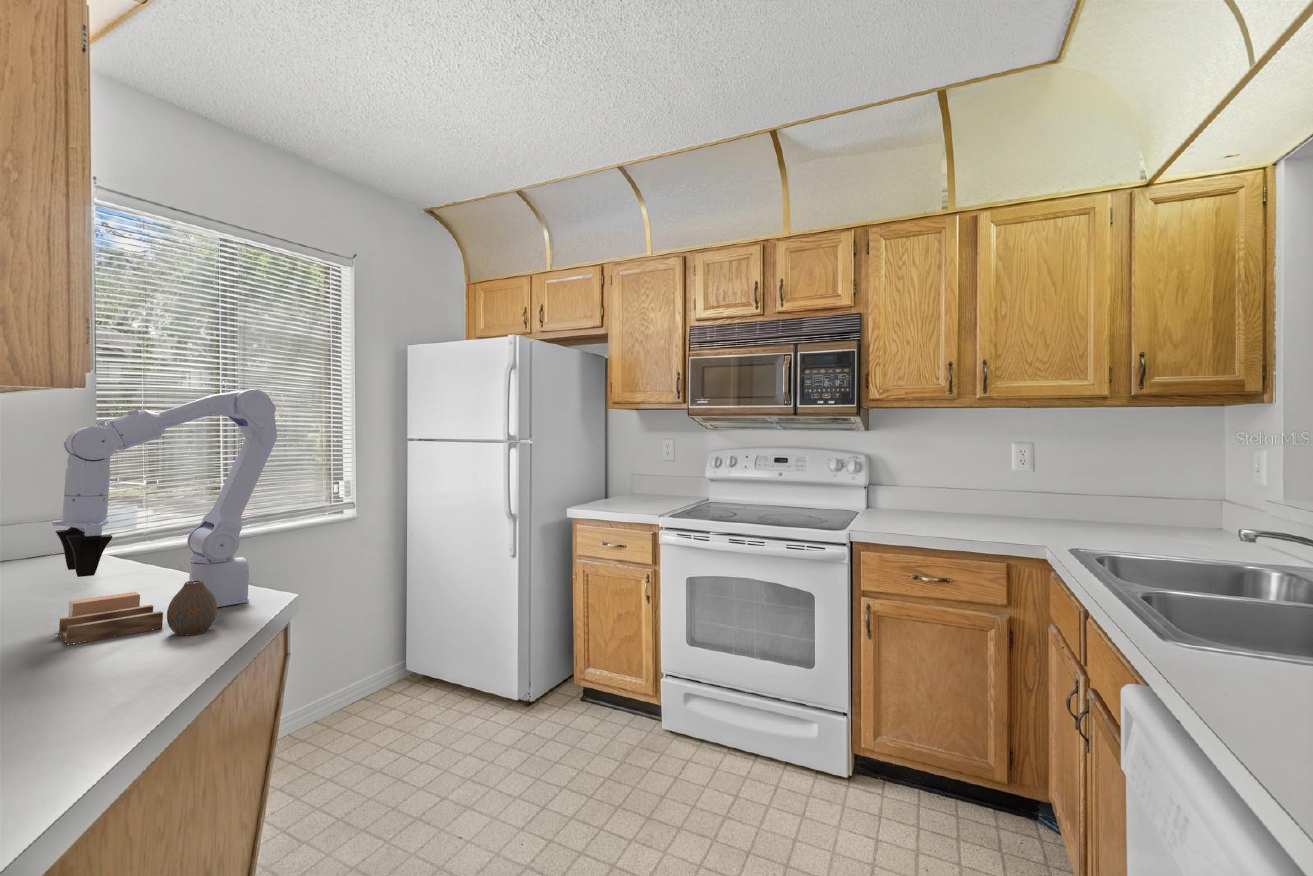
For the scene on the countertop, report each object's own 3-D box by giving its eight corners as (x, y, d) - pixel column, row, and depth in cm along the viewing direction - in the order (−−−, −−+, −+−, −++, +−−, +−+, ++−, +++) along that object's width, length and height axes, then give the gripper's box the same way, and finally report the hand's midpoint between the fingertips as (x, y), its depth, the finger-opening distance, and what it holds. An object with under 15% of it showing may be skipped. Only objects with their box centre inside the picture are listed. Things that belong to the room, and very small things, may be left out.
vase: (220, 632, 104) (222, 582, 104) (169, 641, 99) (172, 588, 99) (211, 623, 109) (213, 575, 109) (162, 631, 104) (165, 580, 104)
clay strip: (134, 615, 112) (135, 591, 112) (138, 619, 110) (140, 594, 110) (68, 626, 105) (69, 600, 105) (71, 630, 103) (72, 603, 103)
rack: (150, 620, 109) (151, 604, 109) (162, 628, 105) (163, 612, 105) (58, 635, 100) (59, 618, 100) (67, 645, 95) (68, 627, 95)
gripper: (47, 492, 106) (41, 568, 106) (63, 499, 98) (57, 582, 97) (100, 491, 112) (94, 564, 112) (120, 498, 103) (114, 576, 103)
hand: (80, 572), depth 105 cm, fingers open, 7 cm apart
